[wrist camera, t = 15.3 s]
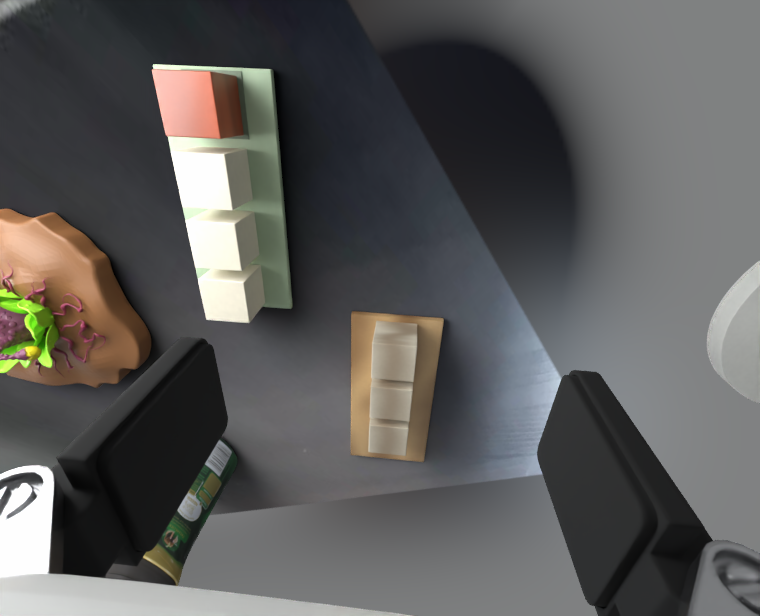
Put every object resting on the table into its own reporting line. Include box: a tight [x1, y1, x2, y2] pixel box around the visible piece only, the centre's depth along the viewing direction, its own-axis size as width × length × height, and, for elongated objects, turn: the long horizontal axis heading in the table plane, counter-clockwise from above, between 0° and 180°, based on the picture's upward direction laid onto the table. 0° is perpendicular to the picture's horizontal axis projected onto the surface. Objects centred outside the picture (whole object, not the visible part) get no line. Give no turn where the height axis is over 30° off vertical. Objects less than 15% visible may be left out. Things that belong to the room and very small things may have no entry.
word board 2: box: [351, 311, 444, 462], centre depth 39 cm, size 9×20×5 cm, turn 178°
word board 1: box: [153, 64, 293, 323], centre depth 31 cm, size 9×20×5 cm, turn 178°
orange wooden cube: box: [152, 69, 244, 139], centre depth 27 cm, size 4×4×4 cm
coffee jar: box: [106, 438, 237, 586], centre depth 41 cm, size 10×8×19 cm
